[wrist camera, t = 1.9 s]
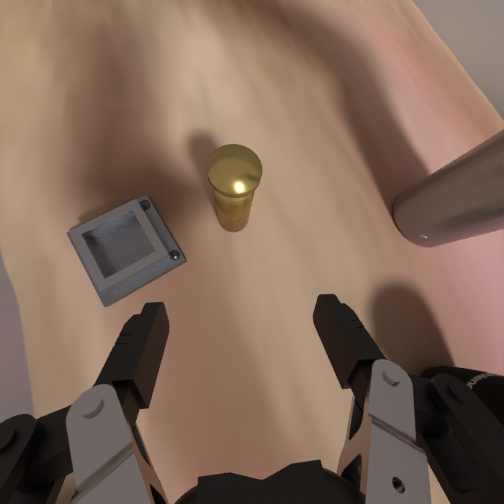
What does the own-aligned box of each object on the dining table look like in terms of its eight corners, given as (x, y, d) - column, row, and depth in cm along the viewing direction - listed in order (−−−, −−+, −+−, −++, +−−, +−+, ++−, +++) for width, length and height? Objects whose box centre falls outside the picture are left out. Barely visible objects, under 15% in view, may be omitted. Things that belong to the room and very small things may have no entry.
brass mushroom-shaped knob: (238, 196, 28) (243, 136, 18) (256, 223, 28) (272, 177, 17) (209, 212, 27) (196, 158, 17) (227, 240, 27) (225, 203, 16)
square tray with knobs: (148, 197, 27) (140, 186, 24) (186, 261, 26) (182, 257, 23) (71, 235, 25) (53, 227, 22) (108, 306, 24) (93, 307, 21)
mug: (451, 345, 27) (579, 373, 17) (485, 421, 25) (650, 500, 15) (371, 379, 25) (464, 433, 15) (403, 463, 23) (531, 585, 13)
